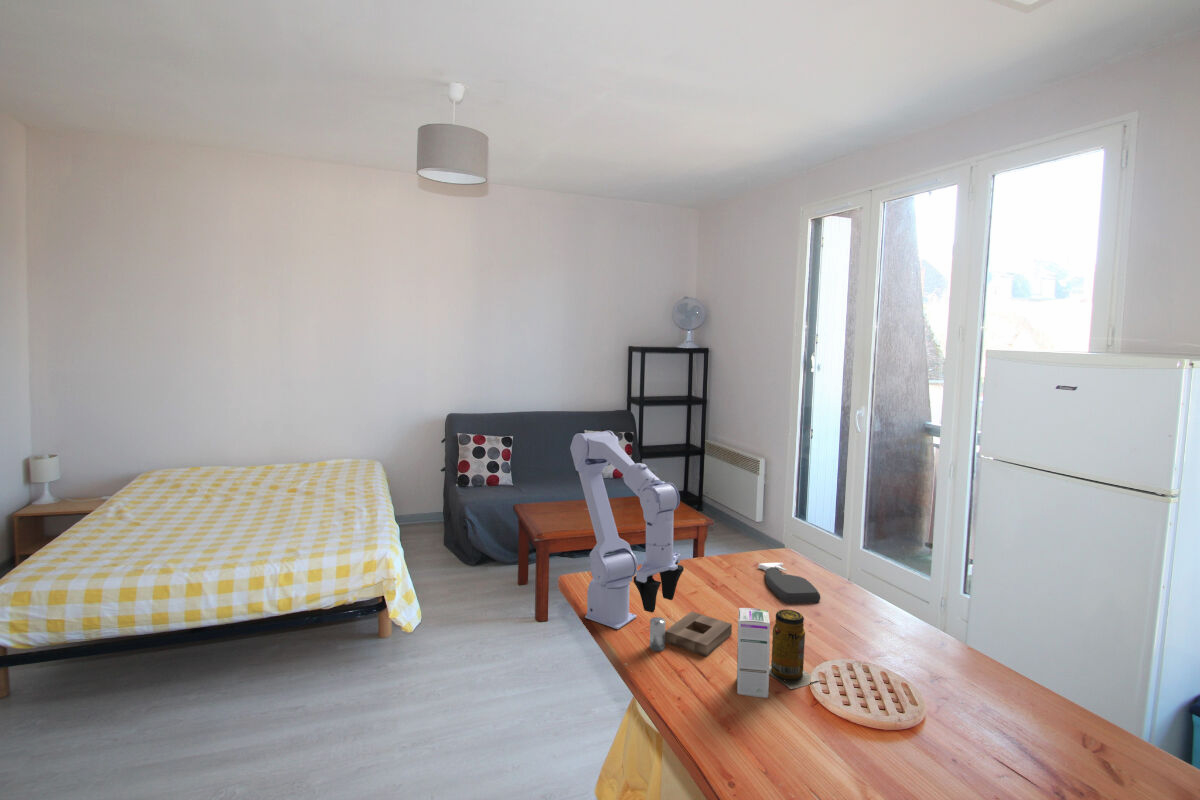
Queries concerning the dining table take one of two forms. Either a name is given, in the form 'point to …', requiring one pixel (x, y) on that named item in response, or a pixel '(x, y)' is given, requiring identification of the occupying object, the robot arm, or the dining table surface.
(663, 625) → the pin
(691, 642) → the bore block
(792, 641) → the condiment
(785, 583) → the spray bottle
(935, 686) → the dining table surface
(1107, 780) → the dining table surface
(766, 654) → the syrup box
